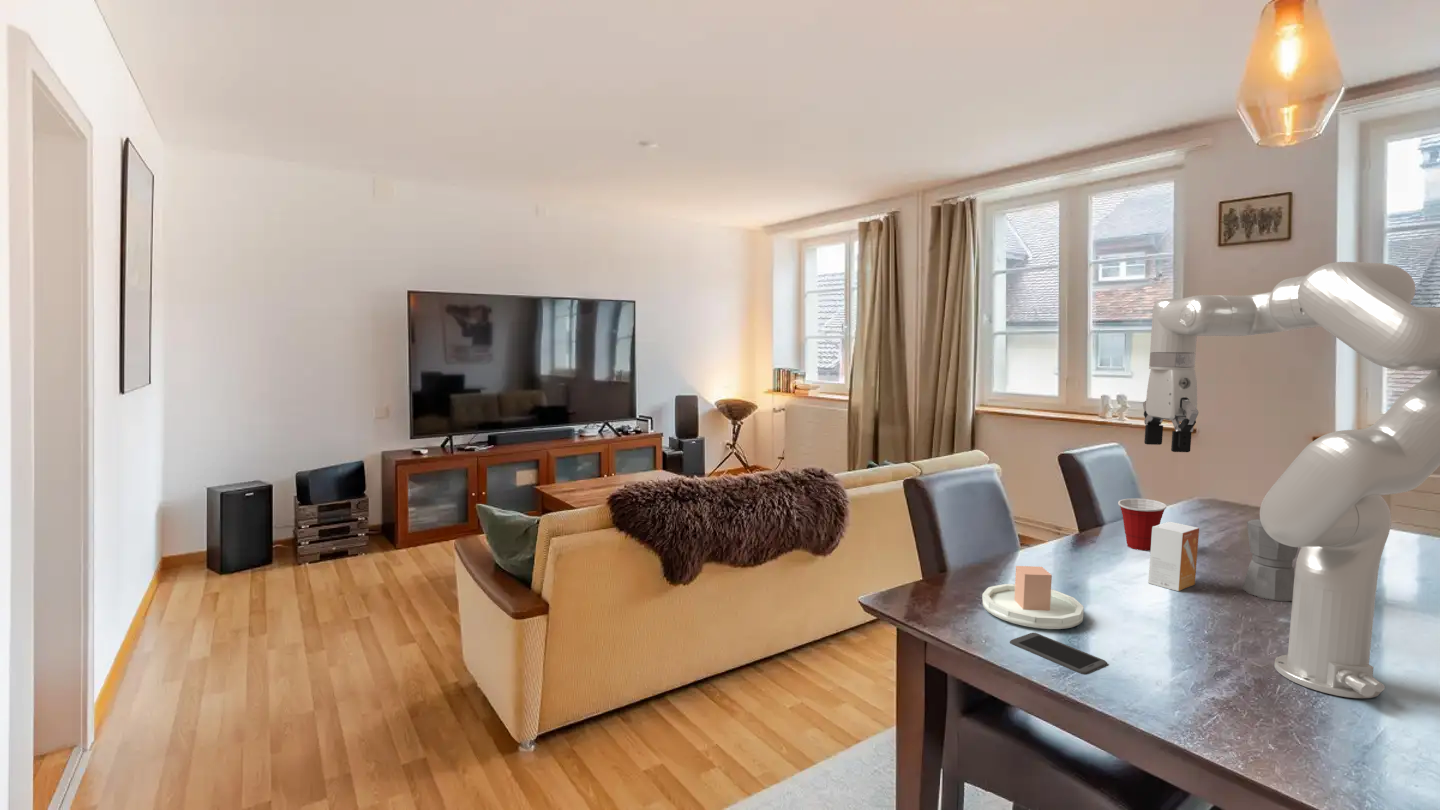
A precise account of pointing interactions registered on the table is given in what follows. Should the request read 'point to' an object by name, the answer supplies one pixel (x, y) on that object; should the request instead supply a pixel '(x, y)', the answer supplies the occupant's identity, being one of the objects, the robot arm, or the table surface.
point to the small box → (1173, 555)
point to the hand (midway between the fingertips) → (1166, 447)
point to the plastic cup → (1140, 520)
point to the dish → (1059, 616)
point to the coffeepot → (1269, 566)
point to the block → (1033, 588)
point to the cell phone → (1059, 653)
